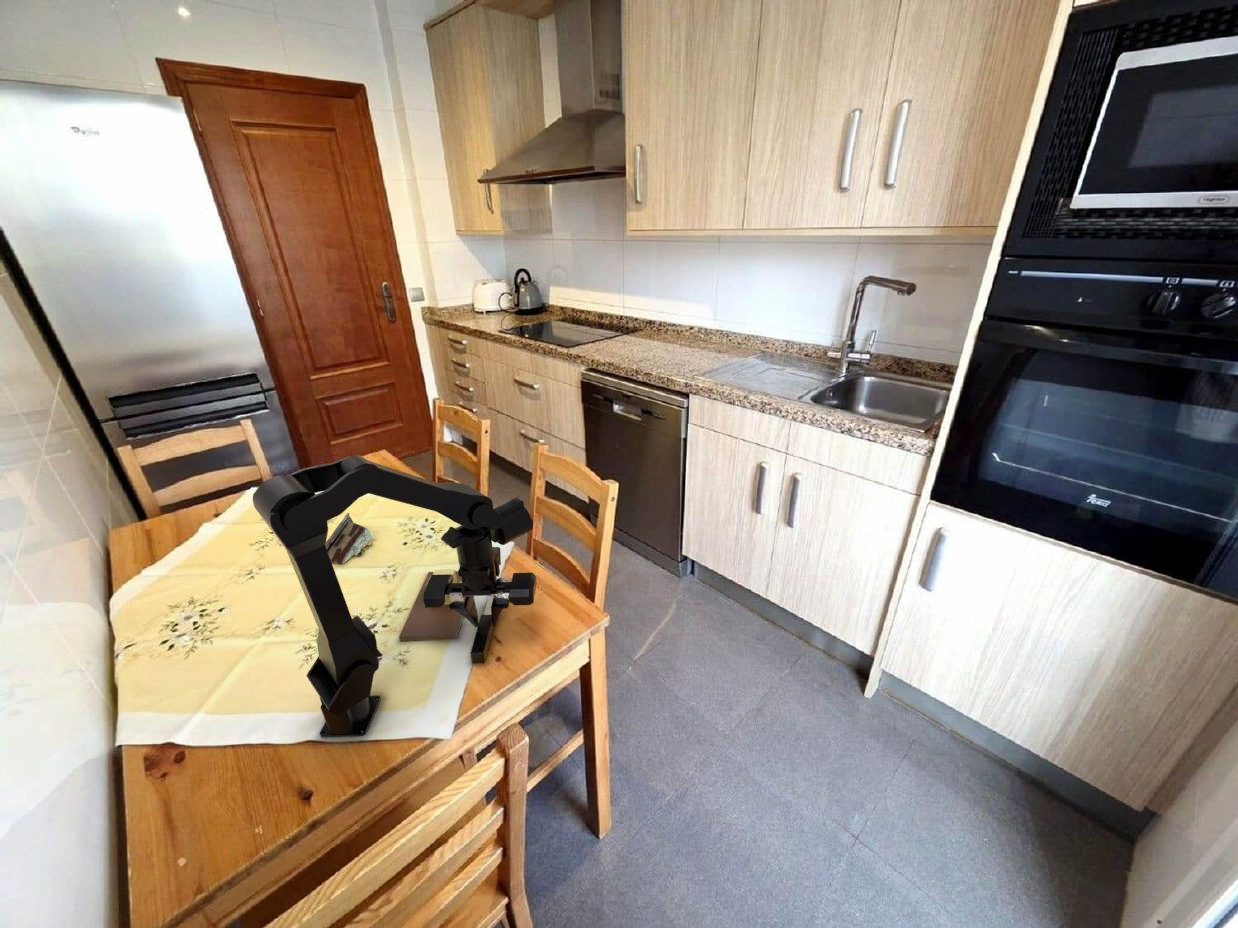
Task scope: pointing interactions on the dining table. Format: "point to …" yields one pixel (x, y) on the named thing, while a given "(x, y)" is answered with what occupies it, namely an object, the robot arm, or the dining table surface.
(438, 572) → the butter slab
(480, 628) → the knife
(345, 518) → the chocolate cake
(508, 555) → the dining table surface
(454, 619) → the board
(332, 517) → the robot arm
